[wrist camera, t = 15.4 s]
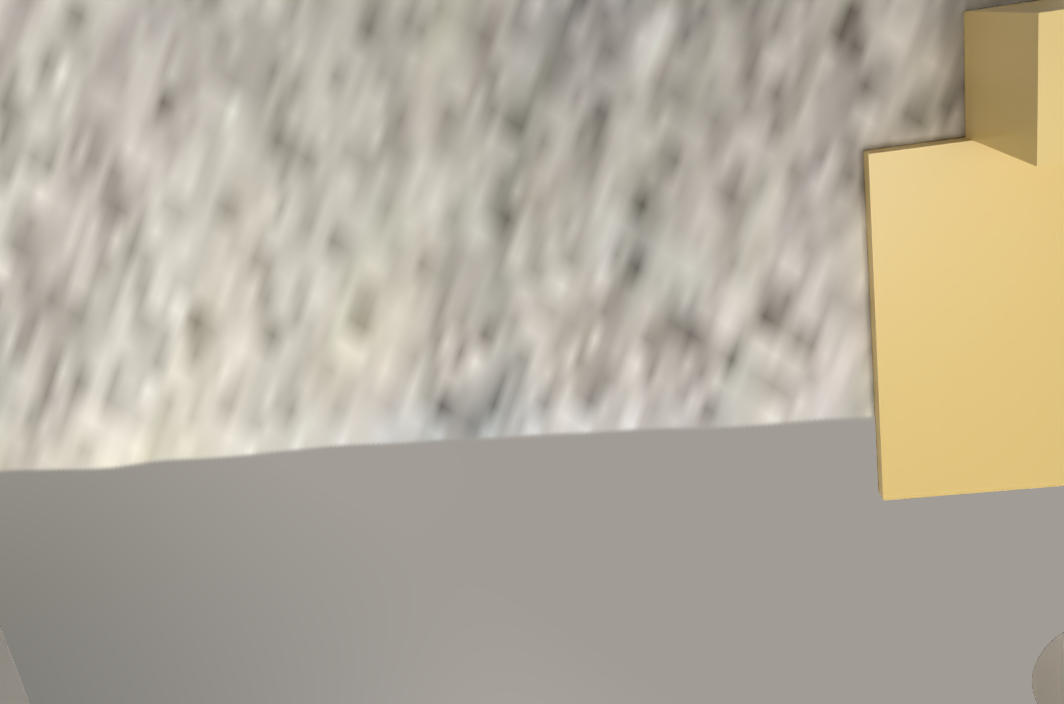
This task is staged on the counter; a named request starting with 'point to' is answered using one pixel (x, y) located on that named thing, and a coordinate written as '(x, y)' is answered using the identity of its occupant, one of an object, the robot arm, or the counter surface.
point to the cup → (1050, 673)
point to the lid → (975, 274)
